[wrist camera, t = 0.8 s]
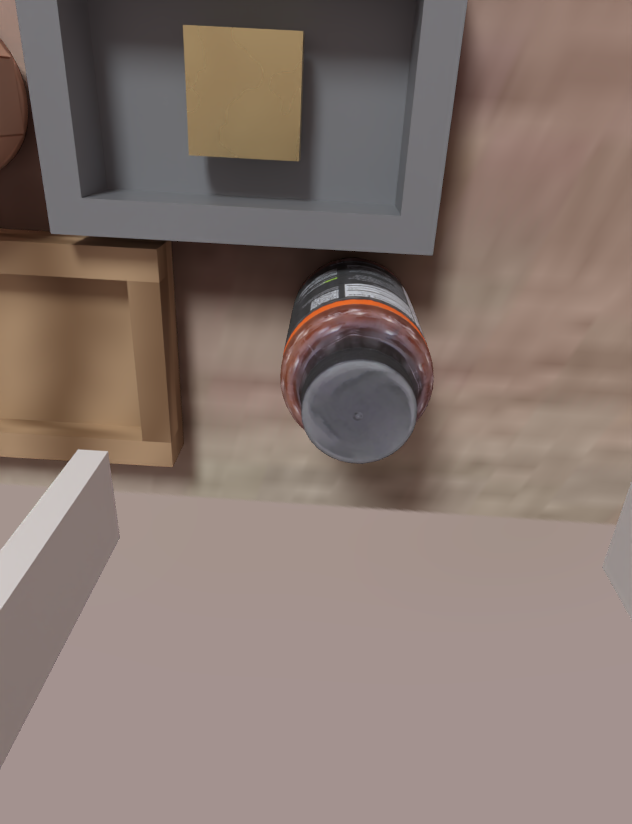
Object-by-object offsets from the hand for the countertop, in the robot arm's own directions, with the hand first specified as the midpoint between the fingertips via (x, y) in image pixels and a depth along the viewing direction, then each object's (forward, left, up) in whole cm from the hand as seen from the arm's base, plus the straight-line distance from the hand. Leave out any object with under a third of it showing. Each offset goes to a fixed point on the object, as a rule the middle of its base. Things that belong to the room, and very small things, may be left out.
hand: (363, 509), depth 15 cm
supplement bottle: (0, 0, -17) cm, 17 cm away
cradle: (-5, +9, -17) cm, 20 cm away
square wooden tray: (-15, -3, -17) cm, 23 cm away
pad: (-5, +9, -15) cm, 18 cm away
